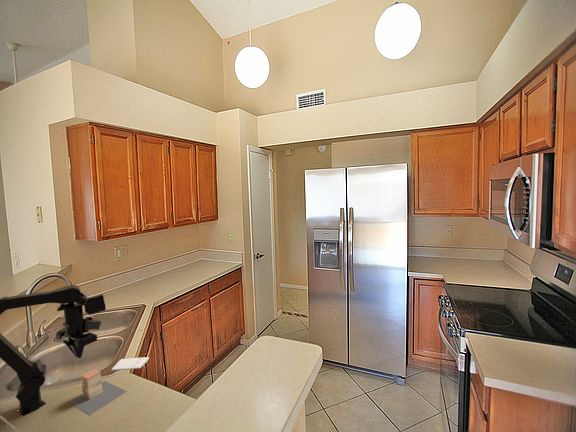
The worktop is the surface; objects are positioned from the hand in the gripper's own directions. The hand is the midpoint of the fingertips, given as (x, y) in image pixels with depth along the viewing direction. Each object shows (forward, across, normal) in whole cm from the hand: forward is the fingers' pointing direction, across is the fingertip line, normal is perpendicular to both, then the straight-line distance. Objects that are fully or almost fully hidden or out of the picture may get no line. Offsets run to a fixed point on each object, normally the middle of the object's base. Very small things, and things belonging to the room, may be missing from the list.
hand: (78, 357), depth 109 cm
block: (+12, -8, 0) cm, 15 cm away
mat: (+13, -12, 0) cm, 17 cm away
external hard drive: (+14, -2, -18) cm, 23 cm away
